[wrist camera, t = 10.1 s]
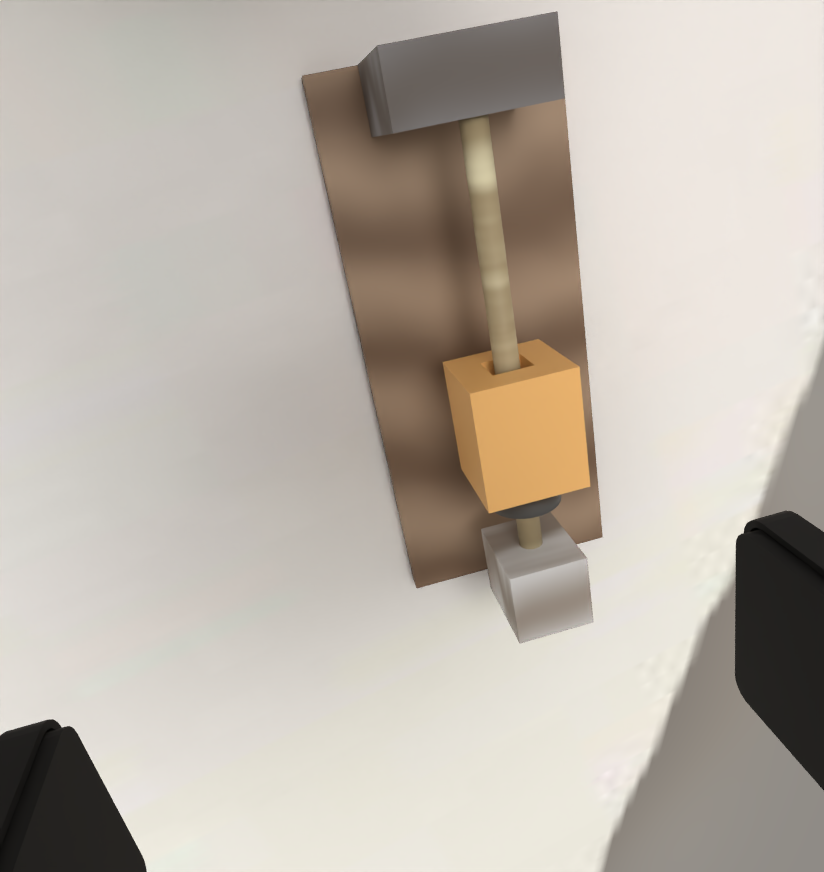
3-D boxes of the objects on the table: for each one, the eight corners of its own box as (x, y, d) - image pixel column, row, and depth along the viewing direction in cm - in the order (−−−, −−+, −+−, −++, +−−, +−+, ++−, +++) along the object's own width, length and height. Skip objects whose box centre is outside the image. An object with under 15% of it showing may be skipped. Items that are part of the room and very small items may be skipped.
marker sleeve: (442, 362, 34) (469, 393, 29) (538, 338, 35) (579, 366, 30) (461, 468, 36) (489, 513, 32) (550, 445, 37) (590, 486, 32)
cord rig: (301, 78, 31) (313, 52, 24) (550, 30, 33) (638, -9, 25) (413, 579, 43) (445, 672, 35) (595, 529, 44) (665, 609, 36)
